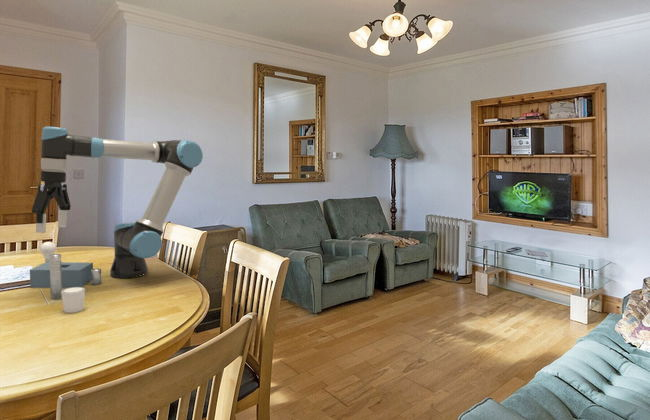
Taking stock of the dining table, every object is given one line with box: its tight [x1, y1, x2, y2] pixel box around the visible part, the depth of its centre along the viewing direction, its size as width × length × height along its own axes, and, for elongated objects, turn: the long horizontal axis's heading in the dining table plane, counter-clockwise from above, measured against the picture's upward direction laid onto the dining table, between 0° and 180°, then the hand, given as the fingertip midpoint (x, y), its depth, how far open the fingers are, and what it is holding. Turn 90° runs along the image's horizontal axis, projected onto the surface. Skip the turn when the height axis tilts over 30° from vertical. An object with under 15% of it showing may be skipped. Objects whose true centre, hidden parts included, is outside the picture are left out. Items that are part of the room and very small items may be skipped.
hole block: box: [29, 261, 94, 289], centre depth 164 cm, size 18×12×7 cm, turn 98°
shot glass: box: [61, 286, 86, 314], centre depth 137 cm, size 7×7×7 cm
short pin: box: [90, 268, 102, 286], centre depth 165 cm, size 4×4×6 cm
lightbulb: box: [39, 241, 57, 263], centre depth 189 cm, size 6×6×11 cm
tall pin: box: [49, 253, 63, 300], centre depth 147 cm, size 4×4×16 cm
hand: (51, 229), depth 146 cm, fingers open, 13 cm apart
